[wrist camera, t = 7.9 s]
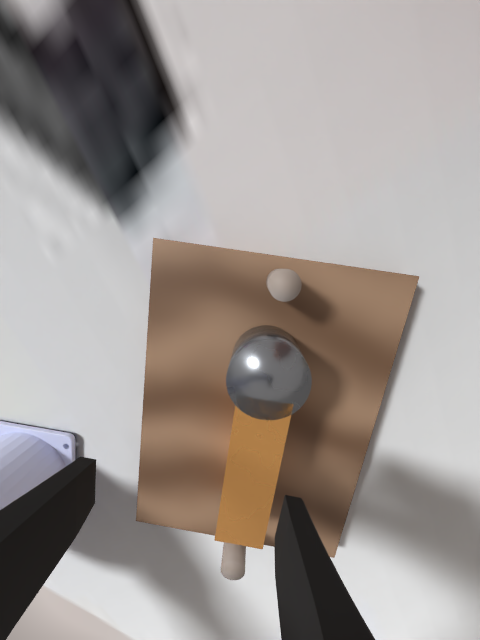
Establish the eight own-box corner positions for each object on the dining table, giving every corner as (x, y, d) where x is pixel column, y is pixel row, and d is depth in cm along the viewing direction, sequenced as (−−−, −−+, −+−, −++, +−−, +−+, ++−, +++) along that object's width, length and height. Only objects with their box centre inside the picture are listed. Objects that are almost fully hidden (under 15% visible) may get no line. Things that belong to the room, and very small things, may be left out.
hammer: (270, 498, 18) (273, 551, 15) (213, 488, 18) (203, 538, 15) (305, 330, 15) (320, 349, 12) (237, 320, 16) (231, 335, 12)
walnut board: (328, 537, 21) (348, 610, 16) (144, 503, 21) (114, 565, 17) (404, 275, 16) (461, 278, 11) (162, 240, 16) (127, 230, 12)
